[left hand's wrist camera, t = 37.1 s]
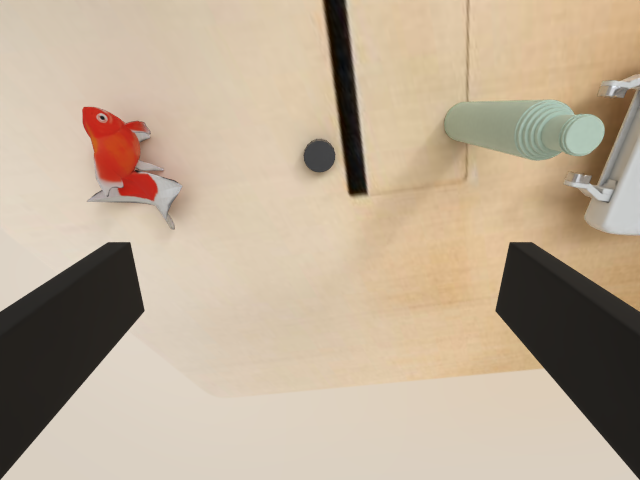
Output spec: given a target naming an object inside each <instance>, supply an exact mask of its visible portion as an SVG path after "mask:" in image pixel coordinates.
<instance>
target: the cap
mask: <svg viewBox="0 0 640 480" xmlns="http://www.w3.org/2000/svg"><path fill="white" fill-rule="evenodd" d="M334 160H335V152H334V148H333V147H332V145H331V143H329V142H327V140H323V139H316V140H313V141H311V142H310V143H309V144H308V145H307V147H306V149H305V153H304V161H305V163H306V165H307V166H308V168H309V169H311V170H312V171H315V172H324V171H327V170H328V169H330V168H331V166H332V165H333V163H334Z"/></svg>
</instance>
